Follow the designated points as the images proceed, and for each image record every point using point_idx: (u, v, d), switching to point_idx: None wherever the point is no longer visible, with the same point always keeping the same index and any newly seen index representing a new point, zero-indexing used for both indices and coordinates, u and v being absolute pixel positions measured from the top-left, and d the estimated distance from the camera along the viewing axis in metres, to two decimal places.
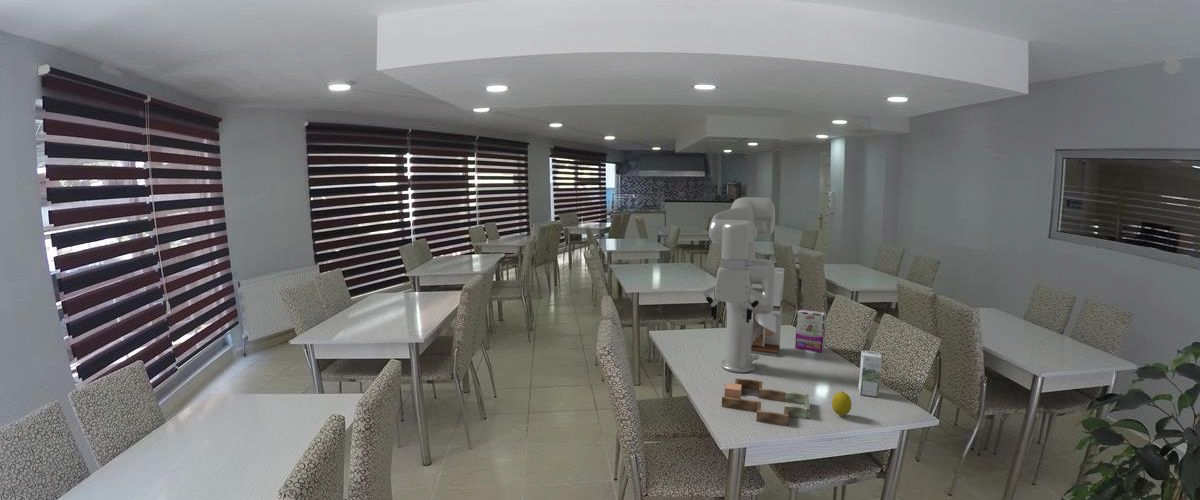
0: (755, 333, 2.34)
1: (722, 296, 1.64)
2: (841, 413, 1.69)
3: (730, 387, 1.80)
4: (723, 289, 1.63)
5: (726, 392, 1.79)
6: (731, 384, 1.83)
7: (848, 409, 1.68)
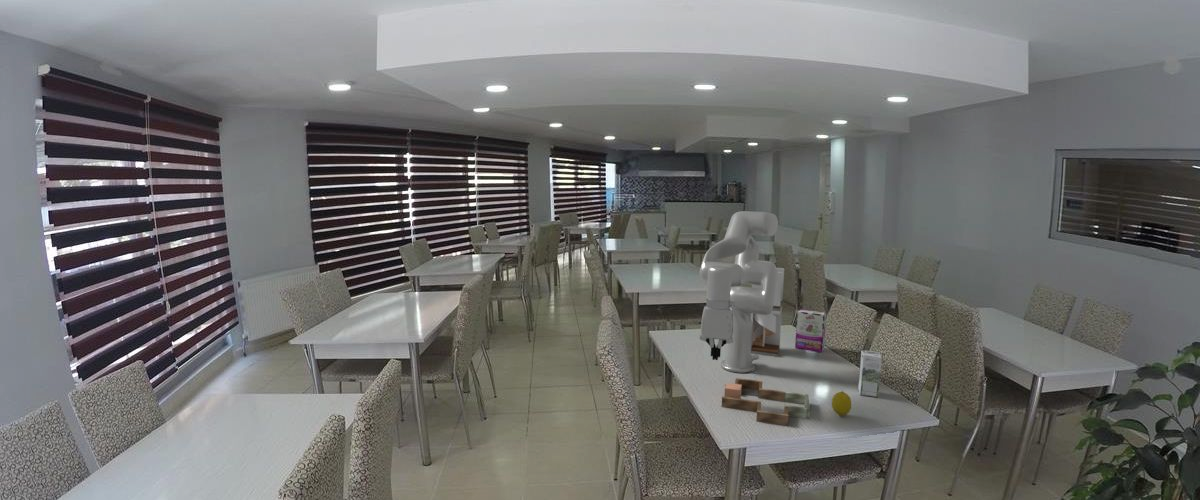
0: (755, 333, 2.34)
1: (707, 333, 1.79)
2: (841, 413, 1.69)
3: (730, 387, 1.80)
4: (708, 327, 1.78)
5: (726, 392, 1.79)
6: (731, 384, 1.83)
7: (848, 409, 1.68)
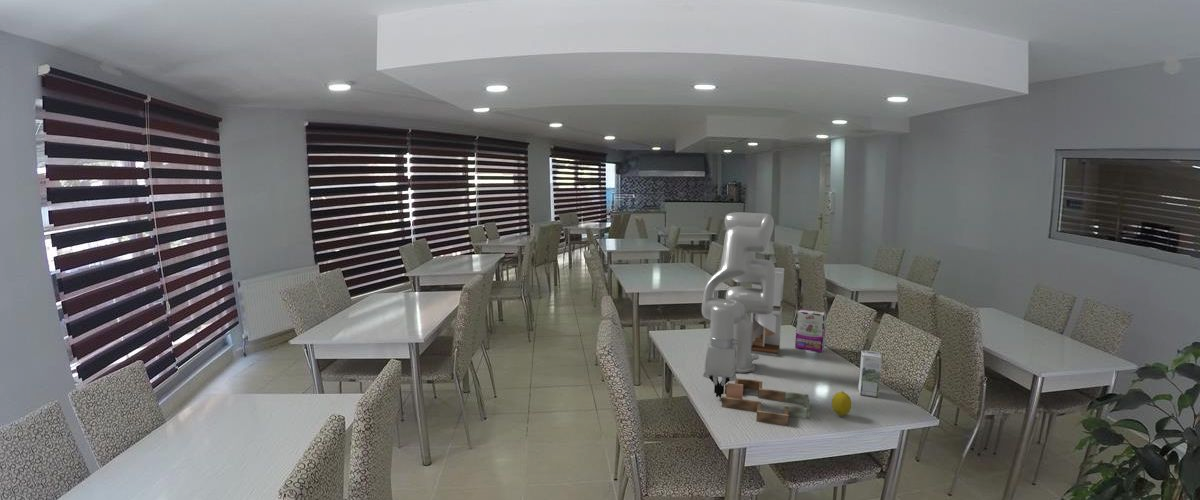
0: (755, 333, 2.34)
1: (710, 371, 1.80)
2: (841, 413, 1.69)
3: (732, 387, 1.80)
4: (711, 365, 1.80)
5: (727, 392, 1.79)
6: (733, 384, 1.82)
7: (848, 409, 1.68)
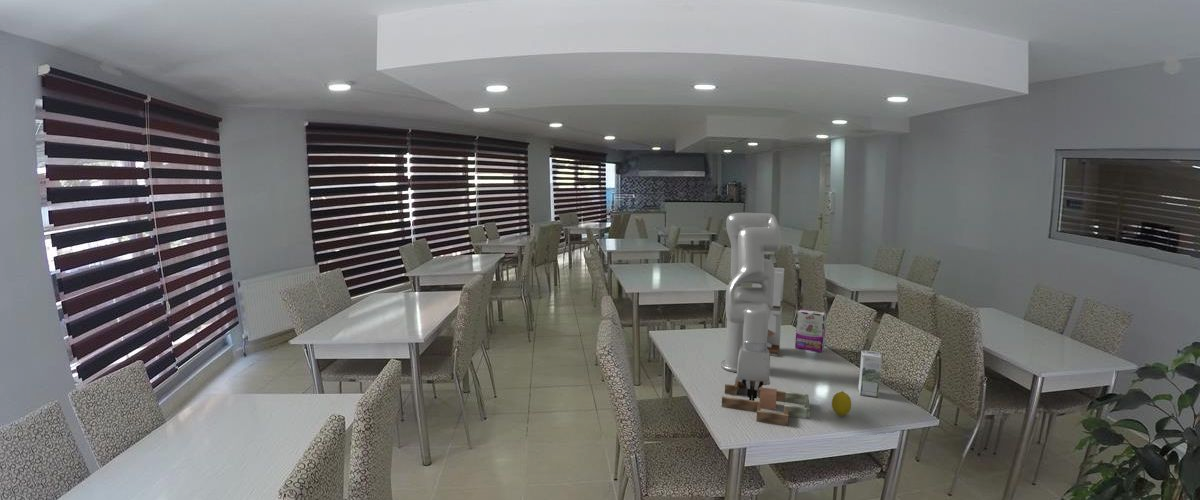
0: None
1: (744, 375, 1.77)
2: (841, 413, 1.69)
3: (765, 392, 1.76)
4: (745, 368, 1.76)
5: (761, 397, 1.76)
6: (766, 388, 1.79)
7: (848, 409, 1.68)
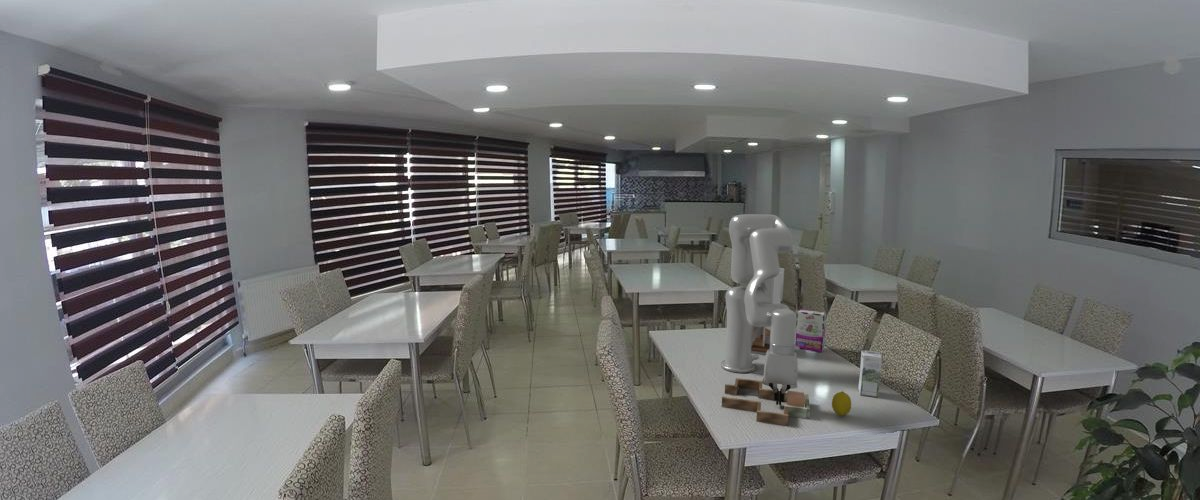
0: (755, 333, 2.34)
1: (771, 378, 1.75)
2: (841, 413, 1.69)
3: (793, 395, 1.74)
4: (772, 372, 1.74)
5: (788, 401, 1.73)
6: (793, 392, 1.76)
7: (848, 409, 1.68)
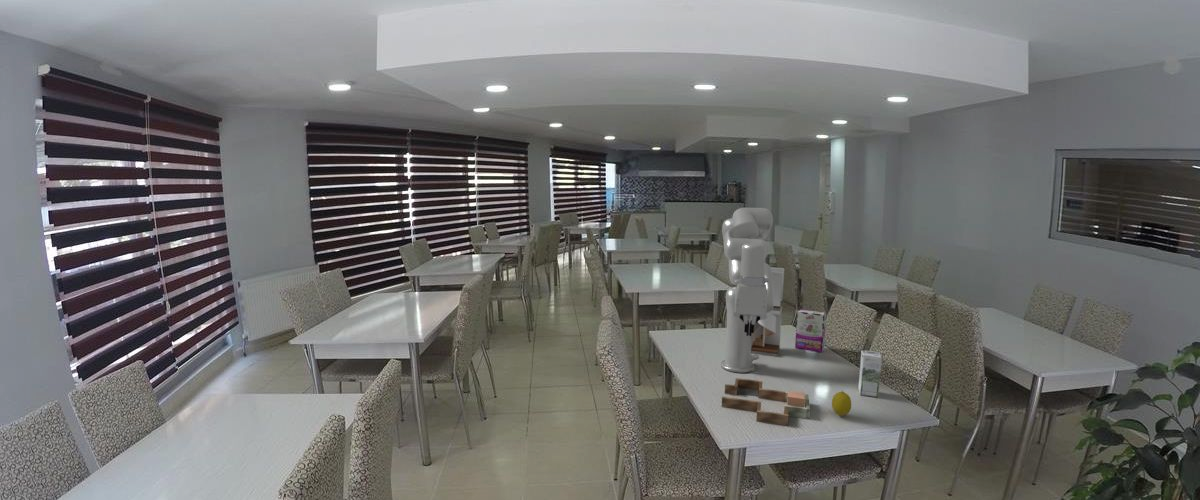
0: (755, 333, 2.34)
1: (741, 310, 1.79)
2: (841, 413, 1.69)
3: (793, 396, 1.74)
4: (742, 303, 1.79)
5: (789, 401, 1.73)
6: (793, 392, 1.76)
7: (848, 409, 1.68)
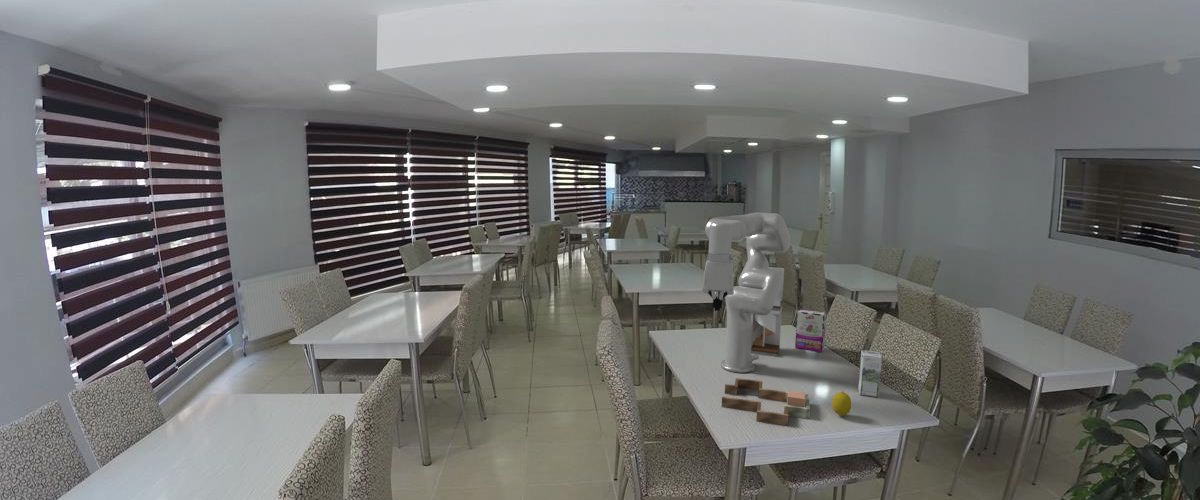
0: (755, 333, 2.34)
1: (709, 285, 1.89)
2: (841, 413, 1.69)
3: (793, 396, 1.74)
4: (710, 279, 1.88)
5: (789, 401, 1.73)
6: (793, 392, 1.76)
7: (848, 409, 1.68)
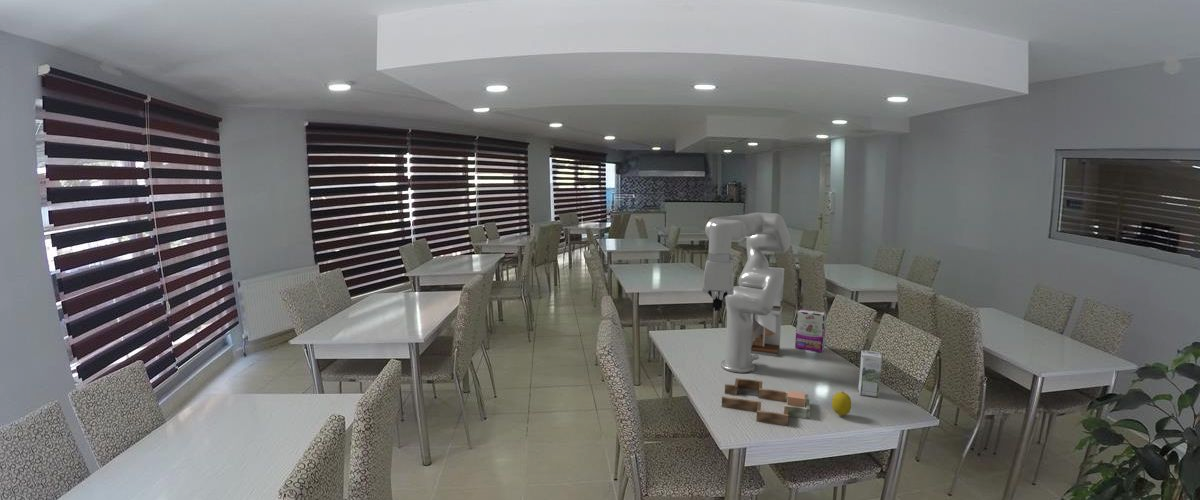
0: (755, 333, 2.34)
1: (709, 285, 1.89)
2: (841, 413, 1.69)
3: (793, 396, 1.74)
4: (710, 279, 1.88)
5: (789, 401, 1.73)
6: (793, 392, 1.76)
7: (848, 409, 1.68)
